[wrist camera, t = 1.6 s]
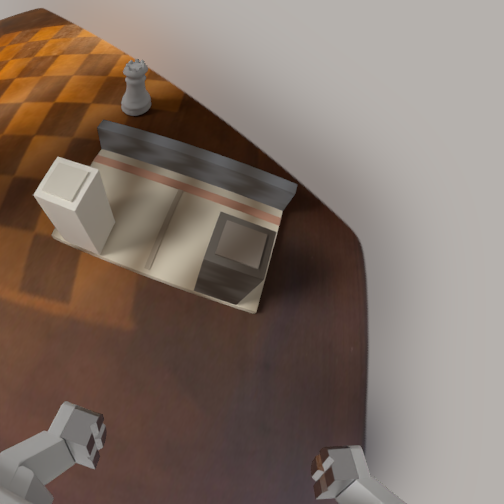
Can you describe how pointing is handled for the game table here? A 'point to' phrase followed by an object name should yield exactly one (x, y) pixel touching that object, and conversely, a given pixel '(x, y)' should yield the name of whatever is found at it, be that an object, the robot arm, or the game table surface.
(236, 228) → the ebony key
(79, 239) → the ivory key
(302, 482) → the game table surface
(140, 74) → the rook chess piece
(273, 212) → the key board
